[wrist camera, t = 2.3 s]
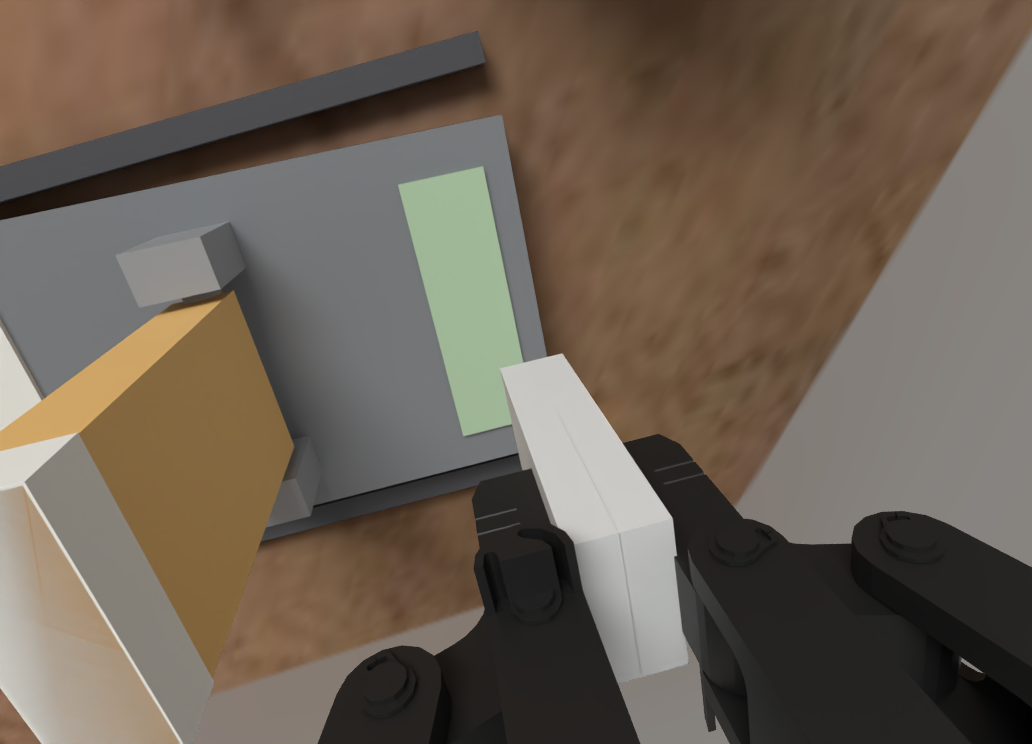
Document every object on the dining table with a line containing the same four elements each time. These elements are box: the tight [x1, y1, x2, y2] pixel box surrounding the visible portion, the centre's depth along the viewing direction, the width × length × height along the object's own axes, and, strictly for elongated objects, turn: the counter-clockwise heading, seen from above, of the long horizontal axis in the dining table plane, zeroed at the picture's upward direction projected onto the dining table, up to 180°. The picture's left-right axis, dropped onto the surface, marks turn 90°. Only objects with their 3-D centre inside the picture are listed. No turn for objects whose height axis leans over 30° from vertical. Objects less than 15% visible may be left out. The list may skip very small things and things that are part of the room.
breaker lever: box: [0, 289, 294, 744], centre depth 16 cm, size 2×6×13 cm, turn 11°
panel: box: [0, 115, 547, 527], centre depth 22 cm, size 22×13×6 cm, turn 101°
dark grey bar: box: [0, 31, 486, 203], centre depth 21 cm, size 22×1×1 cm, turn 105°
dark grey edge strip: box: [261, 453, 523, 542], centre depth 27 cm, size 22×1×1 cm, turn 101°
